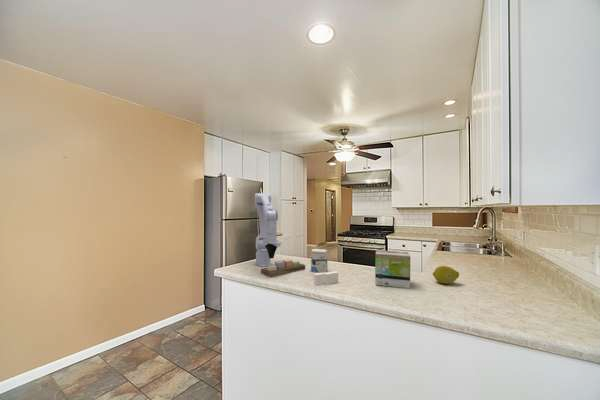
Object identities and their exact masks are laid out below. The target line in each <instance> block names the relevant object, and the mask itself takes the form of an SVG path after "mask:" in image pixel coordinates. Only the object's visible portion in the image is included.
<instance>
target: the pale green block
mask: <svg viewBox="0 0 600 400" xmlns="http://www.w3.org/2000/svg"><path fill="white" fill-rule="evenodd" d="M300 264H301V263H300V260H296V259H293V260H292V265H293V266H296V265H300Z"/></svg>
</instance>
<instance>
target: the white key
mask: <svg viewBox="0 0 600 400" xmlns="http://www.w3.org/2000/svg"><path fill="white" fill-rule="evenodd" d="M266 268H267V270H269V271H273V270H277V266H275V264H273V265H268V266H266Z"/></svg>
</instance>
